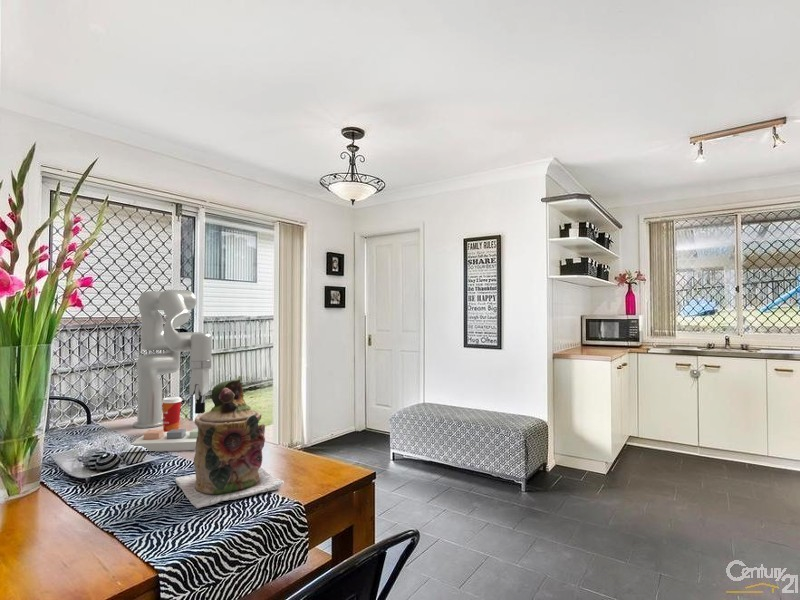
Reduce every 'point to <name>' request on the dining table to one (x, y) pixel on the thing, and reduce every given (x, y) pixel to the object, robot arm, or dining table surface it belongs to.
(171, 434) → the charcoal key
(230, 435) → the cookie jar
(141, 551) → the dining table surface
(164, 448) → the keypad
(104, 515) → the dining table surface
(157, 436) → the terracotta key
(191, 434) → the sage key
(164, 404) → the paper cup
